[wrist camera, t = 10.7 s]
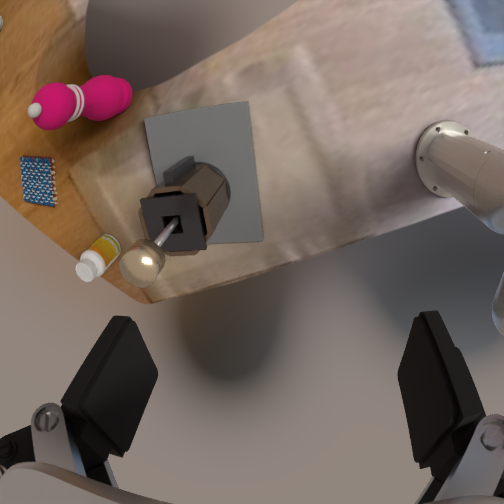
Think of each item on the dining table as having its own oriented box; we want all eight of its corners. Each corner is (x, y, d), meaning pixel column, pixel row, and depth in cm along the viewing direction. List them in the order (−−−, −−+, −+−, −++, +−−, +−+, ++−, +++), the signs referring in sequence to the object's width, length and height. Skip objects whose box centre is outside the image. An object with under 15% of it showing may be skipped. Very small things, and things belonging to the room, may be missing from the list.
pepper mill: (118, 125, 44) (34, 154, 26) (91, 100, 42) (4, 120, 24) (143, 91, 40) (60, 102, 23) (115, 66, 38) (27, 68, 21)
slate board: (248, 101, 40) (247, 101, 39) (263, 237, 51) (263, 241, 50) (147, 117, 43) (144, 118, 42) (173, 242, 53) (170, 245, 52)
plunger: (215, 170, 43) (160, 234, 25) (223, 216, 46) (180, 302, 28) (169, 176, 44) (95, 238, 26) (178, 219, 47) (118, 300, 30)
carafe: (224, 149, 43) (202, 170, 32) (234, 219, 48) (217, 258, 38) (163, 158, 44) (126, 181, 34) (176, 223, 50) (147, 261, 39)
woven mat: (28, 200, 53) (22, 203, 51) (24, 154, 48) (17, 156, 46) (60, 206, 53) (54, 210, 51) (57, 155, 48) (50, 158, 46)
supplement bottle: (101, 228, 54) (73, 253, 45) (124, 241, 54) (98, 269, 46) (96, 249, 56) (70, 275, 48) (117, 262, 57) (94, 290, 49)
